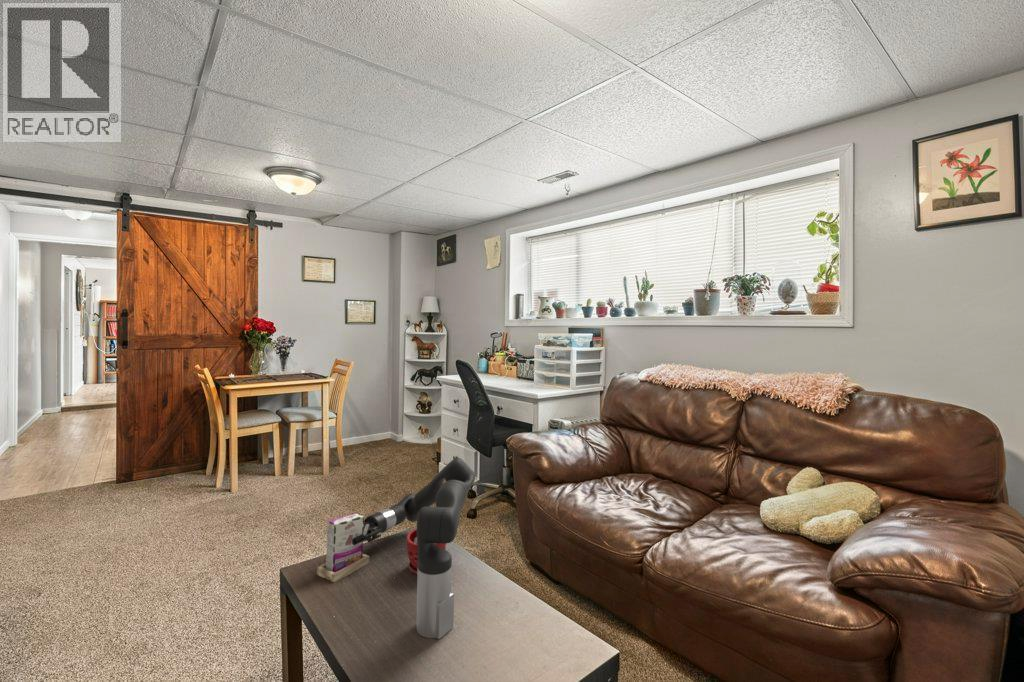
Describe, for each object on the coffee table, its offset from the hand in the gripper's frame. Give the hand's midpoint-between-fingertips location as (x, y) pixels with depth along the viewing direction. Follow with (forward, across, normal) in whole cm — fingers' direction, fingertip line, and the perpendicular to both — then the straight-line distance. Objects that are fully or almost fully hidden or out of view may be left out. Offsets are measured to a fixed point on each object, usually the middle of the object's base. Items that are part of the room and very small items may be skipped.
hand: (344, 538), depth 159 cm
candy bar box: (0, 0, -10) cm, 10 cm away
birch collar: (0, 0, -10) cm, 10 cm away
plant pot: (-15, -23, -10) cm, 29 cm away
